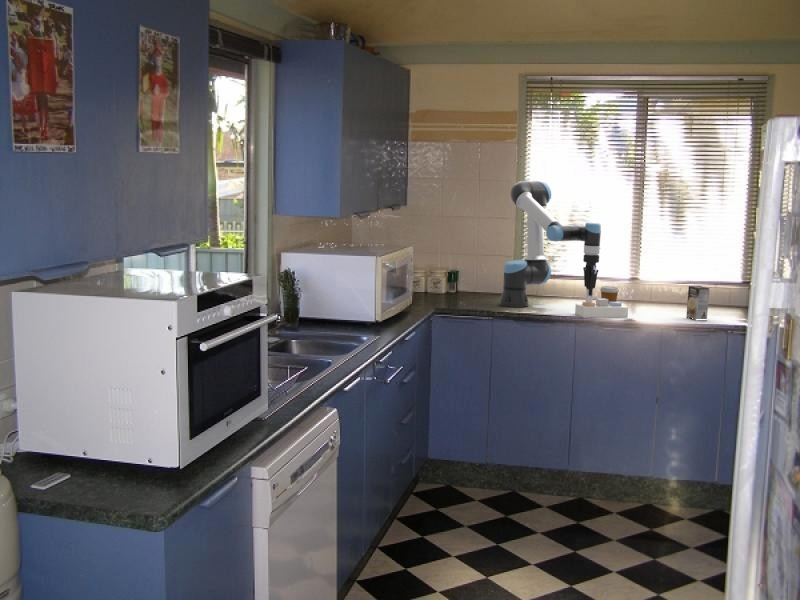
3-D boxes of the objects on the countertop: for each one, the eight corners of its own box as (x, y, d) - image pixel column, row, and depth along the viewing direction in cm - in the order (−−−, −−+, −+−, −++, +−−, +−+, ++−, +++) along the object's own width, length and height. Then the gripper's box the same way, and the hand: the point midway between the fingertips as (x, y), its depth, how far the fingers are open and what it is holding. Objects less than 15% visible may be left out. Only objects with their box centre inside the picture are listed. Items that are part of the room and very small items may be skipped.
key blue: (608, 313, 456) (608, 301, 455) (616, 313, 457) (617, 301, 456) (612, 315, 452) (612, 303, 451) (620, 314, 452) (621, 302, 452)
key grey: (595, 310, 454) (595, 298, 453) (603, 310, 455) (604, 298, 454) (599, 311, 450) (599, 299, 449) (607, 311, 451) (608, 299, 450)
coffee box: (685, 317, 454) (687, 285, 452) (696, 317, 456) (699, 285, 453) (696, 320, 445) (698, 288, 443) (707, 320, 447) (710, 288, 445)
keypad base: (575, 313, 456) (575, 304, 455) (617, 313, 461) (618, 303, 460) (583, 317, 445) (584, 307, 444) (627, 317, 450) (628, 307, 449)
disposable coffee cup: (618, 312, 465) (619, 289, 463) (598, 311, 467) (600, 288, 465) (617, 309, 474) (618, 286, 473) (598, 308, 476) (600, 285, 474)
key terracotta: (581, 313, 453) (582, 301, 452) (590, 313, 454) (591, 301, 453) (585, 315, 449) (586, 303, 448) (594, 315, 450) (594, 303, 449)
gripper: (604, 255, 442) (601, 303, 445) (593, 253, 454) (590, 300, 457) (589, 255, 440) (587, 303, 443) (579, 252, 453) (576, 300, 456)
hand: (588, 301), depth 450 cm, fingers closed
